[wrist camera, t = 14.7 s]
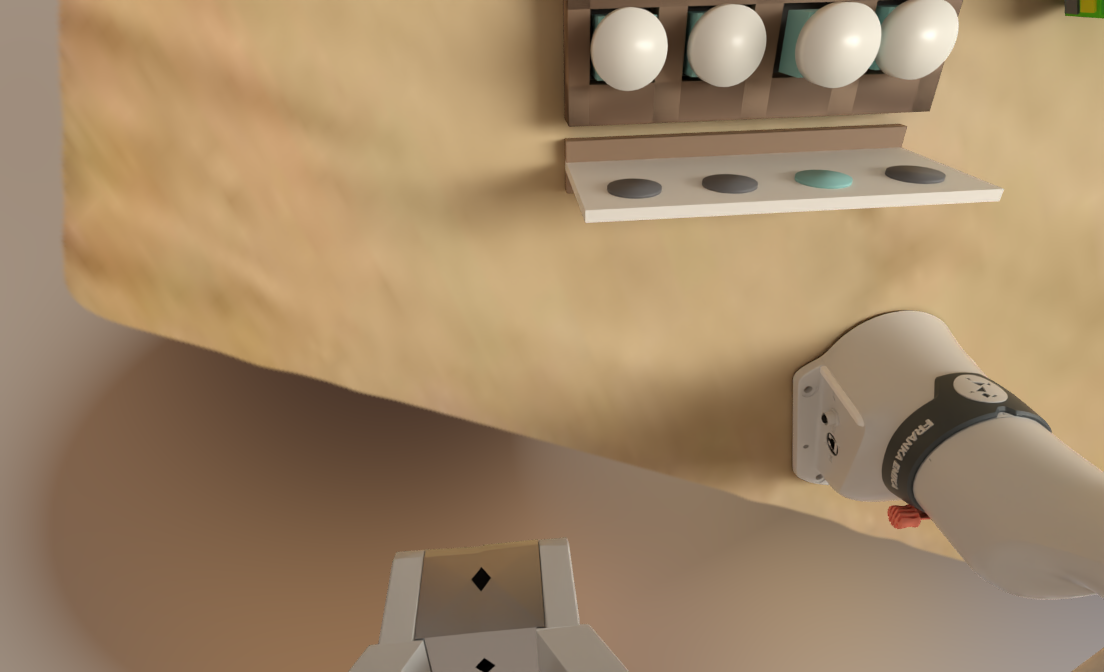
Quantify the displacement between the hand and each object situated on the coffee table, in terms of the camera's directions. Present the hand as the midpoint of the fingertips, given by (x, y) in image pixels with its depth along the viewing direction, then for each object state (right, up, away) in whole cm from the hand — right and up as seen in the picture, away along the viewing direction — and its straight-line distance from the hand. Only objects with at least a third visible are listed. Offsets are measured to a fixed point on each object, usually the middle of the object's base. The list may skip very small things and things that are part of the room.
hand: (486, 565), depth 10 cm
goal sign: (+16, +19, +36) cm, 44 cm away
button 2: (+19, +24, +30) cm, 43 cm away
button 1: (+25, +26, +32) cm, 48 cm away
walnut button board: (+15, +26, +32) cm, 44 cm away
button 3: (+12, +25, +31) cm, 42 cm away
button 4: (+6, +25, +30) cm, 40 cm away
